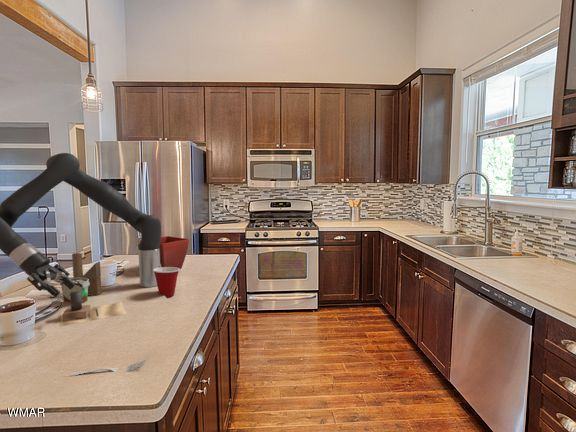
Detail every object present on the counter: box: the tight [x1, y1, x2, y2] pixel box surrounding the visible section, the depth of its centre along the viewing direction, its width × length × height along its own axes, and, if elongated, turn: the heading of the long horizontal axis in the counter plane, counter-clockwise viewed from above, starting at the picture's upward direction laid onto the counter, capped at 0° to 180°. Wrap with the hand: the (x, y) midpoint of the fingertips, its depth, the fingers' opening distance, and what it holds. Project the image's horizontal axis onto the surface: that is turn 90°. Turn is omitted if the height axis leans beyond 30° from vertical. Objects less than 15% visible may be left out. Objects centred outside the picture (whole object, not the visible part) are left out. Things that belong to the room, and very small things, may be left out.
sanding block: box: [62, 291, 91, 321], centre depth 120 cm, size 7×7×8 cm
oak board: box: [59, 301, 128, 327], centre depth 123 cm, size 20×14×2 cm
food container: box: [59, 277, 90, 305], centre depth 136 cm, size 12×6×10 cm, turn 71°
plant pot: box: [139, 235, 190, 270], centre depth 190 cm, size 19×19×17 cm
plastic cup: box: [153, 267, 181, 299], centre depth 146 cm, size 11×11×12 cm
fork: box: [72, 359, 147, 376], centre depth 87 cm, size 3×24×2 cm, turn 103°
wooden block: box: [71, 252, 102, 296], centre depth 148 cm, size 4×11×18 cm, turn 92°
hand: (65, 291), depth 119 cm, fingers open, 8 cm apart
